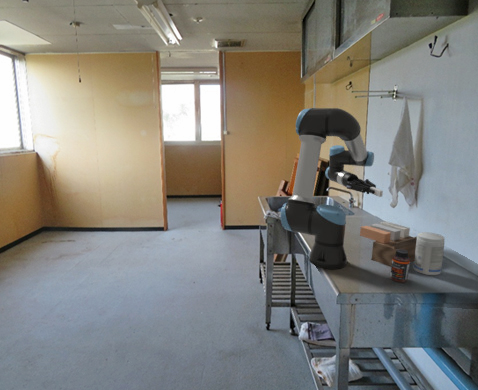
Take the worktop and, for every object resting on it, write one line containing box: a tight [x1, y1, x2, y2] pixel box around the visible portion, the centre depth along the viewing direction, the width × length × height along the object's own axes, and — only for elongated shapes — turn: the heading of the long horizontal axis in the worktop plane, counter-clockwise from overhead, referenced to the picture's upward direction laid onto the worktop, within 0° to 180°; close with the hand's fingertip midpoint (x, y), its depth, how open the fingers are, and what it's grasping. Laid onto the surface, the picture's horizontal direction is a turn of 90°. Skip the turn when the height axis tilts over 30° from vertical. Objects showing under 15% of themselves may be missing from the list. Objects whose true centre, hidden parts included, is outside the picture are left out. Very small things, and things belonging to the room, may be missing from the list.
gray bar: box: [370, 223, 401, 241], centre depth 152 cm, size 12×4×4 cm, turn 33°
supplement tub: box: [413, 231, 446, 276], centre depth 135 cm, size 10×10×15 cm
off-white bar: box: [379, 220, 411, 238], centre depth 156 cm, size 12×4×4 cm, turn 33°
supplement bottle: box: [389, 249, 410, 283], centre depth 127 cm, size 6×6×11 cm
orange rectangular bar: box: [359, 225, 391, 243], centre depth 149 cm, size 12×4×4 cm, turn 33°
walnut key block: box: [371, 235, 417, 268], centre depth 148 cm, size 10×21×10 cm, turn 123°
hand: (381, 193), depth 156 cm, fingers closed
